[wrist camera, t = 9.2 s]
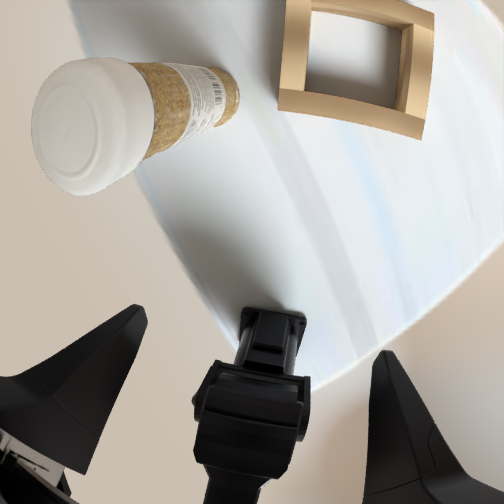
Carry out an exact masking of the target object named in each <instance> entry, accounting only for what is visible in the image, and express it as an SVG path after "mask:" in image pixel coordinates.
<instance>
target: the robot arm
mask: <svg viewBox="0 0 504 504" xmlns="http://www.w3.org/2000/svg"><path fill="white" fill-rule="evenodd" d="M147 324H148V320H147V317H146V313H145V310H144V308H143V306H140V305H137V304H133V305H131V306H129V307H127V308H126V309H124V310H123V311H121V312H120V313H118V314H116V315H115V316H113V317H112V318H110V319H109V320H107V321H106V322H104V323H102V324H101V325H99V326H98V327H96V328H95V329H93V330H92V331H90V332H88V333H87V334H85V335H84V336H82V337H81V338H79V339H78V340H76V341H75V342H73V343H72V344H70V345H69V346H67V347H66V348H64V349H62V350H61V351H59V352H58V353H56V354H55V355H53V356H51V357H50V358H48V359H46V360H45V361H43V362H41V363H39V364H38V365H35V366H34V367H32V368H30V369H28V370H26V371H24V372H22V373H20V374H18V375H15V376H10V377H2V376H0V504H79V503H77V502H76V501H74V500H73V499H71V498H70V495H71V491H70V488H69V486H68V483H67V480H66V477H65V474H64V468H65V467H67V468H69V469H72V470H74V471H76V472H78V473H80V474H83V475H85V474H86V472H87V470H88V467H89V464H90V462H91V459H92V457H93V454H94V452H95V449H96V447H97V444H98V442H99V439H100V438H99V437H100V436H101V434H102V431H103V429H104V427H105V424H106V422H107V419H108V417H109V415H110V413H111V410H112V408H113V406H114V403H115V401H116V399H117V397H118V394H119V392H120V390H121V388H122V386H123V384H124V381H125V379H126V377H127V375H128V373H129V370H130V368H131V366H132V364H133V362H134V359H135V358H136V355H137V352H138V350H139V347H140V344H141V341H142V338H143V335H144V332H145V330H146V327H147ZM306 325H307V319H306V318H304V317H299V316H293V315H287V314H282V313H276V312H270V311H265V310H259V309H254V308H249V307H244V308H242V311H241V323H240V341H239V348H238V351H237V354H236V357H235V361H234V364H228V363H225V362H222V361H220V360H215V362H214V363H213V366H211V367H210V369H209V371H208V373H207V374H206V376H205V378H204V380H203V382H202V384H201V386H200V388H199V389H198V391H197V392H196V394H195V395H194V396H193V398H192V404H193V405H194V419H195V421H197V422H199V424H198V430H197V435H196V440H195V445H194V449H193V452H194V456H195V459H196V462H197V463H200V464H203V465H204V468H205V470H206V472H207V474H208V476H209V481H208V485H207V490H206V493H205V498H204V502H203V504H257V501H258V498H259V494H260V491H261V488H262V487H264V486H265V485H266V484H267V483H268V482H269V481H271V480H272V479H279V478H280V477H281V476H282V475H283V474H284V473H285V472H286V471H287V469H288V465H289V464H290V461H291V457H292V454H293V450H294V446H295V443H296V441H299V442H302V441H303V439H304V436H305V434H306V430H307V427H308V422H309V416H310V376H304V377H302V376H295V375H293V373H294V365H295V358H296V356H297V353H298V350H299V347H300V344H301V341H302V337H303V334H304V331H305V328H306ZM362 504H504V492H502V491H500V490H497V489H495V488H493V487H491V486H488V485H486V484H484V483H482V482H480V481H478V480H476V479H473V478H472V477H471V476H469V475H468V474H467V473H466V472H465V470H464V469H463V468H462V466H461V465H460V463H459V461H458V460H457V458H456V457H455V455H454V454H453V452H452V451H451V449H450V448H449V446H448V445H447V443H446V441H445V440H444V438H443V436H442V435H441V433H440V431H439V429H438V427H437V425H436V424H435V423H434V420H433V418H432V416H431V415H430V413H429V411H428V409H427V407H426V406H425V404H424V402H423V401H422V399H421V397H420V395H419V394H418V392H417V390H416V389H415V387H414V385H413V383H412V382H411V380H410V378H409V377H408V375H407V373H406V372H405V370H404V368H403V367H402V365H401V364H400V362H399V360H398V359H397V357H396V355H395V354H394V352H393V351H391V350H382V351H381V352H380V353H379V355H378V356H377V358H376V359H375V361H374V363H373V366H372V377H371V388H370V397H369V427H368V451H367V465H366V477H365V487H364V497H363V502H362Z"/></svg>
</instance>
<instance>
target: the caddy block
mask: <svg viewBox="0 0 504 504" xmlns="http://www.w3.org/2000/svg"><path fill="white" fill-rule="evenodd" d="M311 10H312V11H320V12H326V13H333V14H338V15H344V16H349V17H354V18H358V19H363V20H367V21H371V22H375V23H379V24H382V25H386V26H389V27H392V28H396V29H399V30H402V41H401V55H400V66H399V76H398V84H397V92H396V100H395V107H394V110H393V109H389V108H386V107H382V106H378V105H374V104H370V103H366V102H361V101H357V100H352V99H348V98H343V97H338V96H332V95H327V94H321V93H314V92H307V91H305V82H306V72H307V61H308V49H309V37H310V24H311ZM433 47H434V13H431V12H429V11H426V10H424V9H421V8H419V7H416V6H413V5H410V4H408V3H405V2H402V1H399V0H286V14H285V27H284V40H283V52H282V64H281V76H280V88H279V99H278V110H279V111H287V112H295V113H303V114H309V115H316V116H322V117H328V118H333V119H338V120H343V121H348V122H353V123H358V124H362V125H367V126H371V127H375V128H379V129H383V130H387V131H390V132H394V133H398V134H401V135H405V136H408V137H411V138H415V139H418V140H421V139H422V134H423V129H424V123H425V117H426V111H427V105H428V98H429V91H430V83H431V73H432V62H433Z"/></svg>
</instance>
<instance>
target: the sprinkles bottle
mask: <svg viewBox="0 0 504 504" xmlns="http://www.w3.org/2000/svg"><path fill="white" fill-rule="evenodd" d="M239 100H240V94H239V89H238V87H237V83H236V82H235V80H234V79H233V78H232V77H231V76H230V75H229V74H228V73H226V72H224V71H222V70H221V69H216V68H204V67H200V66H194V65H186V64H178V63H168V62H155V63H127V62H124V61H122V60H118V59H114V58H93V59H82V60H76V61H72V62H68V63H66V64H64V65H62V66H61V67H59V68H58V69H57V70H55V71H54V72H53V73H52V74H51V75H50V76H49V77H48V78H47V79H46V81H45V82H44V83H43V85H42V87H41V88H40V91H39V93H38V95H37V97H36V100H35V103H34V108H33V112H32V120H31V134H32V142H33V146H34V151H35V154H36V157H37V160H38V162H39V164H40V166H41V168H42V170H43V171H44V172H45V174H46V176H47V177H48V178H49V179H50V181H51V182H52V183H53V184H55V185H56V186H57V187H59V188H60V189H61V190H63V191H65V192H67V193H70V194H73V195H78V196H85V195H91V194H94V193H97V192H99V191H101V190H103V189H104V188H106V187H108V186H110V185H111V184H113V183H115V182H116V181H118V180H120V179H121V178H123V177H124V176H126V175H128V174H129V173H130V172H131V171H133V170H134V169H135V168H136V167H137V166H138V164H140V163H141V162H142V161H143V160H144V159H146V158H148V157H150V156H152V155H153V154H155V153H158V152H161V151H164V150H166V149H168V148H170V147H172V146H174V145H176V144H178V143H180V142H182V141H184V140H186V139H189V138H191V137H193V136H195V135H197V134H200V133H202V132H204V131H206V130H208V129H210V128H211V127H217V126H220V125H222V124H224V123H225V122H227V121H228V120H230V119H231V118H232V116H233V115H234V114H235V112H236V110H237V108H238V105H239Z"/></svg>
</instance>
